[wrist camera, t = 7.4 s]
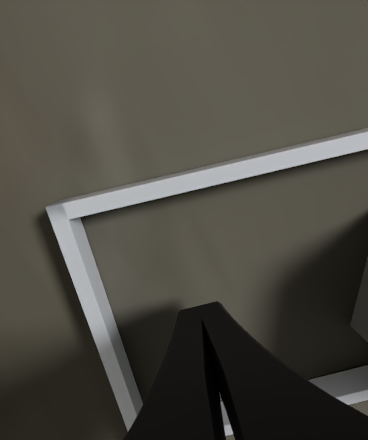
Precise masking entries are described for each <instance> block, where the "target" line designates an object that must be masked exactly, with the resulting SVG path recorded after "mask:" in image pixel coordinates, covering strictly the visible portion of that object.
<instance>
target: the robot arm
mask: <svg viewBox="0 0 368 440" xmlns="http://www.w3.org/2000/svg"><path fill="white" fill-rule="evenodd" d="M219 392H220V395H221V398H222V401H223V404H224V407H225V410H226V413H227V416H228V419H229V422H230V425H231V428H232V431H233V434H234V437H235V440H368V416H367V415H365V414H363V413H361V412H360V411H358V410H356V409H354V408H353V407H351V406H349V405H347V404H346V403H344V402H342V401H340V400H338V399H337V398H335V397H333V396H332V395H330V394H329V393H327V392H325V391H324V390H322V389H321V388H319V387H318V386H316V385H314V384H313V383H311V382H310V381H308V380H307V379H305V378H304V377H303V376H301V375H300V374H298V373H297V372H295V371H294V370H293V369H291V368H290V367H288V366H287V365H286V364H284V363H283V362H282V361H280V360H279V359H278V358H277V357H275V356H274V355H273V354H272V353H270V352H269V351H268V350H267V349H265V348H264V347H263V346H262V345H261V344H260V343H258V342H257V341H256V340H255V339H254V338H253V337H252V336H251V335H250V334H249V333H248V332H246V331H245V330H244V329H243V328H242V327H241V326H240V325H239V324H238V323H237V322H236V321H235V320H234V319H233V318H232V316H231V315H230V314H229V313H228V312H227V311H226V310H225V308H224V307H223V306H222V304H221V303H219V302H218V301H217V302H212V303H208V304H204V305H200V306H196V307H192V308H188V309H184V310H180V312H179V313H178V315H177V320H176V324H175V328H174V331H173V335H172V338H171V341H170V344H169V346H168V349H167V352H166V355H165V357H164V360H163V362H162V365H161V367H160V369H159V372H158V374H157V376H156V379H155V381H154V383H153V385H152V388H151V390H150V392H149V394H148V396H147V398H146V400H145V402H144V404H143V406H142V408H141V409H140V411H139V413H138V415H137V417H136V419H135V420H134V422H133V424H132V426H131V427H130V429H129V431H128V432H127V434H126V436H125V437H124V439H123V440H226V437H225V430H224V423H223V416H222V409H221V402H220V395H219Z"/></svg>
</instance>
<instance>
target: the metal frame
mask: <svg viewBox="0 0 368 440" xmlns="http://www.w3.org/2000/svg"><path fill="white" fill-rule="evenodd" d="M366 149H368V128H366V129H362V130H358V131H353V132H349V133H345V134H341V135H336V136H332V137H328V138H324V139H319V140H315V141H311V142H307V143H302V144H298V145H294V146H290V147H285V148H281V149H277V150H272V151H268V152H264V153H260V154H255V155H251V156H247V157H243V158H238V159H234V160H230V161H226V162H221V163H217V164H213V165H209V166H204V167H200V168H196V169H192V170H187V171H183V172H179V173H175V174H170V175H166V176H162V177H158V178H153V179H149V180H145V181H141V182H136V183H132V184H128V185H123V186H119V187H115V188H111V189H106V190H102V191H98V192H94V193H89V194H85V195H81V196H77V197H72V198H68V199H64V200H60V201H57V202H55V203H53V204H51V205H49V206H47V207H46V210H47V213H48V216H49V218H50V221H51V224H52V226H53V229H54V232H55V235H56V237H57V240H58V243H59V245H60V248H61V251H62V254H63V256H64V259H65V262H66V265H67V267H68V270H69V273H70V275H71V278H72V281H73V284H74V286H75V289H76V292H77V294H78V297H79V300H80V303H81V305H82V308H83V311H84V314H85V316H86V319H87V322H88V324H89V327H90V330H91V333H92V335H93V338H94V341H95V343H96V346H97V349H98V352H99V354H100V357H101V360H102V363H103V365H104V368H105V371H106V373H107V376H108V379H109V382H110V384H111V387H112V390H113V392H114V395H115V398H116V401H117V403H118V406H119V409H120V411H121V414H122V417H123V420H124V422H125V425H126V428H127V431H129V429H130V427H131V426H132V424H133V422H134V420H135V419H136V417H137V415H138V413H139V411H140V409H141V408H142V406H143V403H142V400H141V397H140V394H139V391H138V388H137V385H136V382H135V379H134V376H133V373H132V370H131V367H130V364H129V361H128V358H127V355H126V352H125V349H124V346H123V343H122V340H121V337H120V334H119V331H118V328H117V325H116V322H115V319H114V316H113V314H112V311H111V308H110V305H109V302H108V299H107V296H106V293H105V290H104V287H103V284H102V281H101V278H100V275H99V272H98V269H97V266H96V263H95V260H94V257H93V254H92V251H91V248H90V245H89V242H88V239H87V236H86V233H85V230H84V227H83V224H82V221H81V218H80V217H82V216H86V215H91V214H95V213H99V212H103V211H108V210H112V209H116V208H120V207H125V206H129V205H133V204H137V203H141V202H146V201H150V200H154V199H158V198H163V197H167V196H171V195H175V194H180V193H184V192H188V191H192V190H197V189H201V188H205V187H209V186H213V185H218V184H222V183H226V182H230V181H235V180H239V179H243V178H247V177H252V176H256V175H260V174H264V173H268V172H273V171H277V170H281V169H285V168H290V167H294V166H298V165H302V164H307V163H311V162H315V161H319V160H324V159H328V158H332V157H336V156H340V155H345V154H349V153H353V152H357V151H362V150H366ZM308 381H310V382H311V383H313V384H314V385H316V386H318V387H319V388H321V389H322V390H324V391H325V392H327V393H329V394H330V395H332V396H333V397H335V398H337V399H338V400H340V401H342V402H344V403H346V404H347V405H350V404H354V403H357V402H361V401H365V400H368V365H366V366H362V367H358V368H354V369H350V370H346V371H342V372H338V373H334V374H330V375H326V376H322V377H318V378H314V379H310V380H308ZM221 409H222V416H223V423H224V430H225V436H226V435H230V434H233V431H232V428H231V425H230V422H229V419H228V416H227V413H226V410H225V407H224V404H223V401H222V402H221Z"/></svg>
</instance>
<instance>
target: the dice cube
mask: <svg viewBox="0 0 368 440" xmlns="http://www.w3.org/2000/svg"><path fill="white" fill-rule="evenodd" d="M350 326H351V327H352V328H353V329H354V330H355V331H356V332H357V333H358V334H359V335H360V336H361V337H362V338H363V339H365V340H366V341H367V342H368V257H367V261H366V265H365V269H364V273H363V277H362V280H361V284H360V288H359V292H358V296H357V300H356V304H355V308H354V312H353V316H352V320H351V324H350Z"/></svg>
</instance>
